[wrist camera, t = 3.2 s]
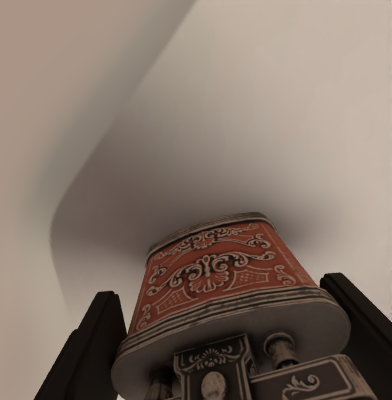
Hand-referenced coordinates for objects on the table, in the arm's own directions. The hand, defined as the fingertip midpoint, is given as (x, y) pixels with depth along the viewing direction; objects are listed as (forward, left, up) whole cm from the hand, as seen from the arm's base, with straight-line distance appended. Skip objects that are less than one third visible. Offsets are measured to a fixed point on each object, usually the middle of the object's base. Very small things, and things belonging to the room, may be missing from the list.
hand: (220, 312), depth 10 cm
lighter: (0, 0, -6) cm, 6 cm away
